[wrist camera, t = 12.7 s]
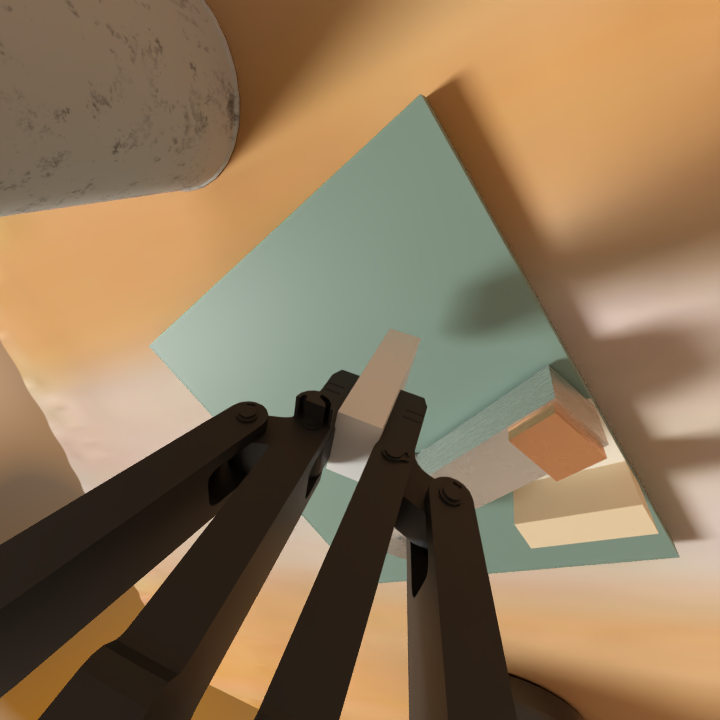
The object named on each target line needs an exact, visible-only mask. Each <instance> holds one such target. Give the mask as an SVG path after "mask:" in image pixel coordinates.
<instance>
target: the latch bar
mask: <svg viewBox="0 0 720 720" xmlns="http://www.w3.org/2000/svg"><path fill="white" fill-rule="evenodd" d="M607 445H609V443H608V441H607V438H606V435H605V432H604V429H603V427H602V424H601V421H600V418H599V415H598V413H597V410H596V407H595V406H594V405H593V404H592V403H591V402H590V401H589V400H587V399H586V398H585V397H584V396H583V395H582V394H581V393H580V392H578V391H577V390H576V389H575V388H574V387H573V386H572V385H571V384H569V383H568V382H567V381H566V380H565V379H564V378H563V377H561V376H560V375H559V374H558V373H557V372H556V371H555V370H554V369H552V368H551V367H550V366H549V365H548V366H546V367H545V368H543V369H542V370H540V371H539V372H537V373H536V374H534V375H533V376H531V377H530V378H529V379H527V380H526V381H524V382H523V383H521V384H520V385H518V386H517V387H515V388H514V389H513V390H511V391H510V392H508V393H507V394H505V395H504V396H502V397H501V398H499V399H498V400H496V401H495V402H494V403H492V404H491V405H489V406H488V407H486V408H485V409H483V410H482V411H480V412H479V413H478V414H476V415H475V416H473V417H472V418H470V419H469V420H467V421H466V422H464V423H463V424H461V425H460V426H459V427H457V428H456V429H454V430H453V431H451V432H450V433H448V434H447V435H445V436H444V437H442V438H441V439H440V440H438V441H437V442H435V443H434V444H432V445H431V446H429V447H428V448H426V449H425V450H424V451H422V452H421V453H419V454H418V455H416V456H415V458H416V461H417V463H418V465H419V466H420V467H421V468H422V470H424V471H425V472H426V473H427V474H429V475H430V476H431V477H433V478H434V479H435V478H438V477H451V478H453V479H456V480H458V481H459V482H461V483H462V484H464V485H465V486H466V488H467V489H468V490H469V491H470V493H471V495H472V498H473V501H474V506H475V509H477V508H479V507H481V506H483V505H485V504H487V503H490V502H492V501H494V500H496V499H498V498H500V497H502V496H504V495H506V494H508V493H510V492H512V491H514V490H516V489H518V488H521V487H523V486H525V485H527V484H529V483H531V482H533V481H535V480H537V479H539V478H541V477H543V476H545V475H547V474H548V475H549V476H551V477H552V478H553V479H554V480H555V481H560V480H562V479H564V478H566V477H568V476H570V475H573V474H575V473H577V472H579V471H581V470H583V469H586V468H588V467H590V466H592V465H594V464H596V463H598V462H601V461H603V460H605V459H607V456H606V453H605V450H604V447H605V446H607ZM406 539H407V538H406V537H405V536H404V535H402V534H401V533H400V532H399V531H398V530H396V529H395V528H394V530H393V533H392V537H391V540H390V544H389V547H388V551H387V553H389V554H391V555H393V556H396V557H399V558H403V559H407V557H406Z"/></svg>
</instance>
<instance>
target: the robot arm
mask: <svg viewBox="0 0 720 720" xmlns="http://www.w3.org/2000/svg"><path fill="white" fill-rule="evenodd" d="M420 340H421V338H418V337H415V336H412V335H408V334H405V333H402V332H399V331H396V330H393V329H389V331H388V332H387V334H386V336H385V337H384V339H383V340H382V342H381V343H380V345H379V347H378V348H377V350H376V351H375V353H374V355H373V356H372V358H371V359H370V361H369V363H368V364H367V366H366V367H365V369H364V371H363V372H362V374H361V375H360V376H359V375H356V374H353V373H351V372H348V371H345V370H340V371H338V372H336V373H334V374H332V376H331V377H330V378H329V380H328V381H327V383H326V384H325V385H324V386H323V388H322V389H321V390H320V391H316V390H311V391H305V392H301V393H300V394H299V395H297V396H296V402H295V410H294V416H293V417H277V416H269V415H268V412H267V409H266V408H265V407H264V406H263V405H261V404H259V403H257V402H251V401H246V402H239V403H237V404H235V405H232V406H231V407H229V408H227V409H226V410H224V411H222V412H221V413H219V414H217V415H216V416H214V417H212V418H211V419H209V420H207V421H206V422H204V423H202V424H201V425H199V426H197V427H196V428H194V429H192V430H191V431H189V432H187V433H186V434H184V435H182V436H181V437H179V438H177V439H176V440H174V441H172V442H171V443H169V444H168V445H166V446H164V447H163V448H161V449H159V450H158V451H156V452H154V453H153V454H151V455H149V456H148V457H146V458H144V459H143V460H141V461H139V462H138V463H136V464H134V465H133V466H131V467H129V468H128V469H126V470H124V471H123V472H121V473H119V474H118V475H116V476H114V477H113V478H111V479H109V480H108V481H106V482H104V483H103V484H101V485H99V486H98V487H96V488H94V489H93V490H91V491H89V492H88V493H86V494H84V495H83V496H81V497H79V498H78V499H76V500H74V501H73V502H71V503H69V504H68V505H66V506H64V507H63V508H61V509H59V510H58V511H56V512H54V513H53V514H51V515H49V516H48V517H46V518H44V519H43V520H41V521H39V522H38V523H36V524H34V525H33V526H31V527H29V528H28V529H26V530H24V531H23V532H21V533H20V534H18V535H16V536H14V537H13V538H11V539H9V540H8V541H6V542H4V543H3V544H1V545H0V698H1V696H3V695H4V694H6V693H7V692H8V691H9V690H11V689H12V688H13V687H14V686H16V685H17V684H18V683H19V682H20V681H21V680H23V679H24V678H25V677H26V676H27V675H29V674H30V673H31V672H32V671H33V670H34V669H35V668H37V667H38V666H39V665H40V664H41V663H43V662H44V661H45V660H46V659H47V658H48V657H50V656H51V655H52V654H53V653H54V652H55V651H57V650H58V649H59V648H60V647H61V646H63V645H64V644H65V643H66V642H67V641H68V640H69V639H71V638H72V637H73V636H74V635H76V634H77V633H78V632H79V631H80V630H81V629H83V628H84V627H85V626H86V625H87V624H88V623H90V622H91V621H92V620H93V619H94V618H95V617H97V616H98V615H99V614H100V613H101V612H102V611H104V610H105V609H106V608H107V607H108V606H110V605H111V604H112V603H113V602H114V601H115V600H116V599H118V598H119V597H120V596H121V595H122V594H124V593H125V592H126V591H127V590H128V589H129V588H131V587H132V586H133V585H134V584H135V583H137V582H138V581H139V580H140V579H141V578H142V577H144V576H145V575H146V574H147V573H148V572H149V571H151V570H152V569H153V568H154V567H155V566H157V565H158V564H159V563H160V562H161V561H162V560H164V559H165V558H166V557H167V556H168V555H169V554H171V553H172V552H173V551H174V550H175V549H177V548H178V547H179V546H180V545H181V544H182V543H184V542H185V541H186V540H187V539H188V538H189V537H191V536H192V535H193V534H194V533H195V532H196V531H198V530H199V529H200V528H201V527H202V526H204V525H205V524H206V523H207V522H208V521H209V520H211V519H212V518H213V517H214V516H215V515H216V514H217V515H216V516H215V517H214V518H213V520H212V521H211V522H210V524H209V525H208V526H207V527H206V529H205V530H204V531H203V533H202V534H201V535H200V536H199V538H198V539H197V540H196V541H195V543H194V544H193V545H192V547H191V548H190V549H189V550H188V552H187V553H186V554H185V556H184V557H183V558H182V559H181V561H180V562H179V563H178V565H177V566H176V567H175V568H174V570H173V571H172V572H171V574H170V575H169V576H168V577H167V579H166V580H165V581H164V583H163V584H162V585H161V586H160V588H159V589H158V590H157V592H156V593H155V594H154V595H153V597H152V598H151V599H150V600H149V602H148V603H147V604H146V606H145V607H144V608H143V609H142V611H141V612H140V613H139V615H138V616H137V617H136V618H135V620H134V621H133V622H132V624H131V625H130V626H129V628H128V629H127V630H126V631H125V632H124V633H123V634H122V635H121V636H120V637H119V638H118V639H116V640H114V641H112V642H110V643H108V644H105V645H103V646H102V647H101V648H100V649H99V650H97V651H96V652H95V653H94V654H92V655H91V656H90V658H89V659H88V660H87V661H86V662H85V663H84V664H83V665H82V666H81V667H80V669H79V670H78V671H77V672H76V673H75V675H74V676H73V677H72V679H71V680H70V681H69V682H68V683H67V685H66V686H65V687H64V688H63V690H62V691H61V692H60V693H59V695H58V696H57V697H56V698H55V700H54V701H53V702H52V703H51V704H50V705H49V707H48V708H47V709H46V710H45V712H44V713H43V714H42V715H41V717H40V718H39V719H38V720H191V718H192V716H193V713H194V711H195V709H196V707H197V705H198V704H199V702H200V700H201V698H202V696H203V694H204V692H205V690H206V689H207V687H208V685H209V683H210V682H211V680H212V678H213V676H214V674H215V672H216V671H217V669H218V667H219V665H220V663H221V661H222V660H223V658H224V656H225V654H226V652H227V650H228V649H229V647H230V645H231V643H232V641H233V639H234V638H235V636H236V634H237V632H238V630H239V628H240V627H241V625H242V623H243V621H244V619H245V617H246V616H247V614H248V612H249V610H250V608H251V606H252V604H253V603H254V601H255V599H256V597H257V595H258V593H259V592H260V590H261V588H262V586H263V584H264V582H265V581H266V579H267V577H268V575H269V573H270V571H271V570H272V568H273V566H274V564H275V562H276V560H277V559H278V557H279V555H280V553H281V551H282V549H283V548H284V546H285V544H286V542H287V540H288V538H289V537H290V535H291V533H292V531H293V529H294V527H295V526H296V524H297V522H298V520H299V518H300V516H301V515H302V513H303V511H304V509H305V507H306V505H307V504H308V502H309V500H310V498H311V496H312V494H313V493H314V491H315V489H316V487H317V485H318V483H319V482H320V479H321V475H322V470H323V468H324V466H325V465H326V463H327V467H326V469H328V470H331V471H333V472H336V473H338V474H341V475H343V476H345V477H348V478H350V479H353V480H355V481H358V484H357V486H356V488H355V491H354V493H353V495H352V497H351V500H350V502H349V504H348V507H347V509H346V511H345V514H344V516H343V518H342V520H341V523H340V525H339V527H338V530H337V532H336V534H335V536H334V539H333V541H332V543H331V546H330V548H329V550H328V553H327V555H326V557H325V559H324V562H323V564H322V566H321V569H320V571H319V573H318V576H317V578H316V580H315V582H314V585H313V587H312V589H311V592H310V594H309V596H308V599H307V601H306V603H305V605H304V608H303V610H302V612H301V615H300V617H299V619H298V622H297V624H296V626H295V628H294V631H293V633H292V635H291V638H290V640H289V642H288V645H287V647H286V649H285V651H284V654H283V656H282V658H281V661H280V663H279V665H278V668H277V670H276V672H275V674H274V677H273V679H272V681H271V684H270V686H269V688H268V690H267V693H266V695H265V697H264V700H263V702H262V704H261V706H260V709H259V711H258V713H257V715H256V717H255V719H254V720H339V718H340V715H341V711H342V708H343V704H344V701H345V697H346V694H347V690H348V687H349V684H350V680H351V677H352V673H353V670H354V666H355V663H356V659H357V656H358V652H359V649H360V645H361V642H362V638H363V635H364V631H365V628H366V624H367V621H368V617H369V614H370V610H371V607H372V603H373V600H374V596H375V593H376V589H377V586H378V582H379V579H380V575H381V572H382V568H383V565H384V561H385V558H386V554H387V551H388V547H389V544H390V540H391V537H392V533H393V530H394V528H395V529H396V530H398V531H399V532H400V533H401V534H402V535H404V536H405V537H406V538H407V539H406V557H407V616H408V675H409V720H583V719H582V717H581V716H580V715H579V714H578V713H577V712H576V711H575V710H574V709H573V708H572V707H570V706H569V705H568V704H566V703H565V702H564V701H562V700H561V699H559V698H558V697H556V696H554V695H553V694H551V693H549V692H547V691H546V690H544V689H542V688H540V687H537V686H535V685H533V684H531V683H528V682H526V681H523V680H521V679H518V678H515V677H512V676H509V675H508V671H507V666H506V661H505V656H504V651H503V646H502V641H501V636H500V631H499V626H498V621H497V616H496V611H495V606H494V601H493V596H492V591H491V586H490V581H489V576H488V571H487V566H486V561H485V556H484V551H483V546H482V541H481V536H480V531H479V526H478V521H477V516H476V511H475V506H474V501H473V498H472V495H471V493H470V491H469V490H468V489H467V488H466V486H465V485H464V484H462V483H461V482H459V481H458V480H456V479H453V478H451V477H438V478H435V479H434V478H433V477H431V476H430V475H429V474H427V473H426V472H425V471H424V470H422V468H421V467H420V466H419V465H418V463H417V461H416V458H415V449H416V445H417V442H418V438H419V435H420V431H421V428H422V424H423V421H424V417H425V414H426V410H427V405H426V401H425V398H423V397H420V396H417V395H415V394H412V393H409V392H406V391H404V388H405V386H406V383H407V380H408V377H409V374H410V371H411V368H412V364H413V361H414V358H415V355H416V352H417V349H418V346H419V343H420ZM327 461H328V462H327Z"/></svg>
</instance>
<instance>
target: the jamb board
mask: <svg viewBox="0 0 720 720" xmlns="http://www.w3.org/2000/svg"><path fill="white" fill-rule="evenodd" d="M389 329H393V330H396V331H399V332H402V333H405V334H408V335H412V336H415V337H418V338H421V340H420V343H419V346H418V349H417V352H416V355H415V358H414V361H413V364H412V368H411V371H410V374H409V377H408V380H407V383H406V386H405V388H404V391H406V392H409V393H412V394H415V395H417V396H420V397H423V398H425V401H426V405H427V410H426V414H425V417H424V421H423V424H422V428H421V431H420V435H419V438H418V442H417V445H416V449H415V456H416V455H418V454H419V453H421V452H422V451H424V450H425V449H426V448H428V447H429V446H431V445H432V444H434V443H435V442H437V441H438V440H440V439H441V438H442V437H444V436H445V435H447V434H448V433H450V432H451V431H453V430H454V429H456V428H457V427H459V426H460V425H461V424H463V423H464V422H466V421H467V420H469V419H470V418H472V417H473V416H475V415H476V414H478V413H479V412H480V411H482V410H483V409H485V408H486V407H488V406H489V405H491V404H492V403H494V402H495V401H496V400H498V399H499V398H501V397H502V396H504V395H505V394H507V393H508V392H510V391H511V390H513V389H514V388H515V387H517V386H518V385H520V384H521V383H523V382H524V381H526V380H527V379H529V378H530V377H531V376H533V375H534V374H536V373H537V372H539V371H540V370H542V369H543V368H545V367H546V366H548V365H549V366H550V367H551V368H552V369H554V370H555V371H556V372H557V373H558V374H559V375H560V376H561V377H563V378H564V379H565V380H566V381H567V382H568V383H569V384H571V385H572V386H573V387H574V388H575V389H576V390H577V391H578V392H580V393H581V394H582V395H583V396H584V397H585V398H586V399H587V400H589V401H590V402H591V403H592V404H593V405H594V406H595V407H596V410H597V413H598V415H599V418H600V421H601V424H602V427H603V429H604V432H605V435H606V438H607V441H608V443H609V445H607V446H605V447H604V450H605V453H606V456H607V459H605V460H603V461H601V462H598V463H596V464H594V465H592V466H590V467H588V468H586V469H583V470H581V471H579V472H577V473H575V474H573V475H570V476H568V477H566V478H564V479H562V480H560V481H555V480H554V479H553V478H552V477H551V476H549V475H548V474H547V475H545V476H543V477H541V478H539V479H537V480H535V481H533V482H531V483H529V484H527V485H525V486H523V487H521V488H518V489H516V490H514V491H512V492H510V493H508V494H506V495H504V496H502V497H500V498H498V499H496V500H494V501H492V502H490V503H487V504H485V505H483V506H481V507H479V508H477V509H475V511H476V516H477V521H478V526H479V531H480V536H481V541H482V546H483V551H484V556H485V561H486V566H487V571H488V574H491V573H503V572H514V571H526V570H538V569H549V568H561V567H572V566H584V565H596V564H607V563H619V562H631V561H642V560H654V559H666V558H677V557H679V555H678V552H677V550H676V548H675V545H674V543H673V541H672V539H671V537H670V535H669V533H668V531H667V530H666V528H665V526H664V524H663V522H662V521H661V519H660V517H659V515H658V513H657V512H656V510H655V508H654V506H653V504H652V503H651V501H650V499H649V497H648V495H647V494H646V492H645V490H644V488H643V486H642V485H641V483H640V481H639V479H638V477H637V476H636V474H635V472H634V470H633V468H632V467H631V465H630V463H629V461H628V459H627V458H626V456H625V454H624V452H623V450H622V449H621V447H620V445H619V443H618V441H617V440H616V438H615V436H614V434H613V432H612V431H611V429H610V427H609V425H608V424H607V422H606V420H605V418H604V416H603V415H602V413H601V411H600V409H599V407H598V406H597V404H596V402H595V400H594V398H593V397H592V395H591V393H590V391H589V389H588V388H587V386H586V384H585V382H584V380H583V379H582V377H581V375H580V373H579V371H578V370H577V368H576V366H575V364H574V362H573V361H572V359H571V357H570V355H569V353H568V352H567V350H566V348H565V346H564V344H563V343H562V341H561V339H560V337H559V335H558V334H557V332H556V330H555V328H554V326H553V325H552V323H551V321H550V319H549V318H548V316H547V314H546V312H545V310H544V309H543V307H542V305H541V303H540V301H539V300H538V298H537V296H536V294H535V292H534V291H533V289H532V287H531V285H530V283H529V282H528V280H527V278H526V276H525V274H524V273H523V271H522V269H521V267H520V265H519V264H518V262H517V260H516V258H515V256H514V255H513V253H512V251H511V249H510V247H509V246H508V244H507V242H506V240H505V238H504V237H503V235H502V233H501V231H500V229H499V228H498V226H497V224H496V222H495V220H494V219H493V217H492V215H491V213H490V212H489V210H488V208H487V206H486V204H485V203H484V201H483V199H482V197H481V195H480V194H479V192H478V190H477V188H476V186H475V185H474V183H473V181H472V179H471V177H470V176H469V174H468V172H467V170H466V168H465V167H464V165H463V163H462V161H461V159H460V158H459V156H458V154H457V152H456V150H455V149H454V147H453V145H452V143H451V141H450V140H449V138H448V136H447V134H446V132H445V131H444V129H443V127H442V125H441V123H440V122H439V120H438V118H437V116H436V114H435V113H434V111H433V109H432V107H431V106H430V104H429V102H428V100H427V98H426V97H425V96H423V95H422V94H420V95H419V96H418V97H417V98H416V99H415V100H414V101H413V102H411V103H410V104H409V105H408V106H407V107H406V108H405V109H404V110H403V111H402V112H401V113H400V114H399V115H397V116H396V117H395V118H394V119H393V120H392V121H391V122H390V123H389V124H388V125H387V126H386V127H385V128H383V129H382V130H381V131H380V132H379V133H378V134H377V135H376V136H375V137H374V138H373V139H372V140H370V141H369V142H368V143H367V144H366V145H365V146H364V147H363V148H362V149H361V150H360V151H359V152H358V153H356V154H355V155H354V156H353V157H352V158H351V159H350V160H349V161H348V162H347V163H346V164H345V165H344V166H342V167H341V168H340V169H339V170H338V171H337V172H336V173H335V174H334V175H333V176H332V177H331V178H330V179H328V180H327V181H326V182H325V183H324V184H323V185H322V186H321V187H320V188H319V189H318V190H317V191H315V192H314V193H313V194H312V195H311V196H310V197H309V198H308V199H307V200H306V201H305V202H304V203H303V204H301V205H300V206H299V207H298V208H297V209H296V210H295V211H294V212H293V213H292V214H291V215H290V216H289V217H287V218H286V219H285V220H284V221H283V222H282V223H281V224H280V225H279V226H278V227H277V228H276V229H275V230H273V231H272V232H271V233H270V234H269V235H268V236H267V237H266V238H265V239H264V240H263V241H262V242H260V243H259V244H258V245H257V246H256V247H255V248H254V249H253V250H252V251H251V252H250V253H249V254H248V255H246V256H245V257H244V258H243V259H242V260H241V261H240V262H239V263H238V264H237V265H236V266H235V267H234V268H232V269H231V270H230V271H229V272H228V273H227V274H226V275H225V276H224V277H223V278H222V279H221V280H220V281H218V282H217V283H216V284H215V285H214V286H213V287H212V288H211V289H210V290H209V291H208V292H207V293H205V294H204V295H203V296H202V297H201V298H200V299H199V300H198V301H197V302H196V303H195V304H194V305H193V306H191V307H190V308H189V309H188V310H187V311H186V312H185V313H184V314H183V315H182V316H181V317H180V318H179V319H177V320H176V321H175V322H174V323H173V324H172V325H171V326H170V327H169V328H168V329H167V330H166V331H165V332H163V333H162V334H161V335H160V336H159V337H158V338H157V339H156V340H155V341H154V342H153V343H152V344H150V345H149V347H150V348H151V349H152V350H153V351H154V352H155V353H156V354H157V355H158V357H159V358H160V359H161V360H162V361H163V362H164V363H165V364H166V365H167V367H168V368H169V369H170V370H171V371H172V372H173V373H174V374H175V375H176V376H177V378H178V379H179V380H180V381H181V382H182V383H183V384H184V385H185V386H186V387H187V389H188V390H189V391H190V392H191V393H192V394H193V395H194V396H195V397H196V399H197V400H198V401H199V402H200V403H201V404H202V405H203V406H204V407H205V408H206V410H207V411H208V412H209V413H210V414H211V415H212V416H213V417H214V416H216V415H217V414H219V413H221V412H222V411H224V410H226V409H227V408H229V407H231V406H232V405H235V404H237V403H239V402H246V401H251V402H257V403H259V404H261V405H263V406H264V407H265V408H266V409H267V412H268V415H269V416H277V417H293V416H294V410H295V402H296V396H297V395H299V394H300V393H301V392H305V391H311V390H316V391H320V390H321V389H322V388H323V386H324V385H325V384H326V383H327V381H328V380H329V378H330V377H331V376H332V374H334V373H336V372H338V371H340V370H345V371H348V372H351V373H353V374H356V375H359V376H360V375H361V374H362V372H363V371H364V369H365V367H366V366H367V364H368V363H369V361H370V359H371V358H372V356H373V355H374V353H375V351H376V350H377V348H378V347H379V345H380V343H381V342H382V340H383V339H384V337H385V336H386V334H387V332H388V331H389ZM327 462H328V461H327ZM326 467H327V463H326V465H325V466H324V468H323V470H322V475H321V479H320V482H319V483H318V485H317V487H316V489H315V491H314V493H313V494H312V496H311V498H310V500H309V502H308V504H307V505H306V507H305V509H304V511H303V513H302V516H303V517H304V518H305V519H306V520H307V521H308V522H309V523H310V525H311V526H312V527H313V528H314V529H315V530H316V531H317V532H318V533H319V534H320V536H321V537H322V538H323V539H324V540H325V541H326V542H327V543H328V544H329V545H330V546H331V543H332V541H333V539H334V536H335V534H336V532H337V530H338V527H339V525H340V523H341V520H342V518H343V516H344V514H345V511H346V509H347V507H348V504H349V502H350V500H351V497H352V495H353V493H354V491H355V488H356V486H357V484H358V481H355V480H353V479H350V478H348V477H345V476H343V475H341V474H338V473H336V472H333V471H331V470H328V469H326ZM398 581H407V559H403V558H399V557H396V556H393V555H391V554H389V553H387V554H386V558H385V561H384V565H383V568H382V572H381V575H380V579H379V582H378V583H386V582H398Z"/></svg>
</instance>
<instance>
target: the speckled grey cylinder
mask: <svg viewBox="0 0 720 720" xmlns="http://www.w3.org/2000/svg"><path fill="white" fill-rule="evenodd" d="M239 120H240V96H239V89H238V82H237V75H236V69H235V66H234V63H233V59H232V56H231V53H230V49H229V46H228V43H227V40H226V38H225V36H224V34H223V32H222V30H221V28H220V26H219V23H218V21H217V19H216V17H215V15H214V14H213V12H212V11H211V9H210V8H209V6H208V5H207V4H206V2H205V1H204V0H0V217H2V216H8V215H15V214H22V213H29V212H36V211H43V210H50V209H57V208H64V207H71V206H78V205H85V204H91V203H98V202H105V201H112V200H119V199H126V198H133V197H140V196H147V195H154V194H161V193H167V192H174V191H192V190H195V189H199V188H202V187H205V186H206V185H208V184H209V183H210V182H212V181H213V180H215V179H216V178H217V177H218V176H219V174H220V173H221V172H222V170H223V169H224V168H225V167H226V165H227V164H228V162H229V159H230V157H231V154H232V152H233V150H234V147H235V144H236V139H237V134H238V129H239Z"/></svg>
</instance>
